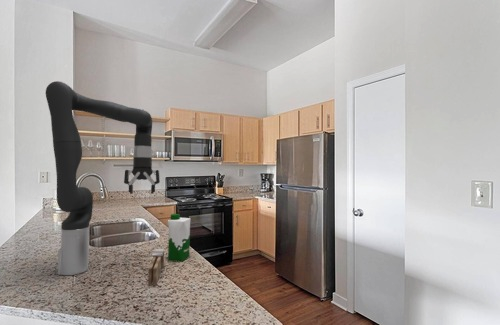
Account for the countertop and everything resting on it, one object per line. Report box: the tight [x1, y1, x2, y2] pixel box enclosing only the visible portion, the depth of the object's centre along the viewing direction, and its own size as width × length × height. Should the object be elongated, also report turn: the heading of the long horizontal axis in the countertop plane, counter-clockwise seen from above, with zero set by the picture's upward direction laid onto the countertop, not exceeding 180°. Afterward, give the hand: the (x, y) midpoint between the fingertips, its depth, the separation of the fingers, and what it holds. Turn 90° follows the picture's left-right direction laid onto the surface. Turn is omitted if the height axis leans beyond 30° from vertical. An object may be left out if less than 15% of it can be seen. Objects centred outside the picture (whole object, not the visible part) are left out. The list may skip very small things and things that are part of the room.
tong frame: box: [147, 248, 165, 287], centre depth 99 cm, size 20×4×7 cm, turn 14°
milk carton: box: [167, 213, 191, 263], centre depth 118 cm, size 9×9×20 cm
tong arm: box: [152, 256, 162, 286], centre depth 97 cm, size 16×3×6 cm, turn 12°
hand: (142, 193), depth 112 cm, fingers open, 8 cm apart
